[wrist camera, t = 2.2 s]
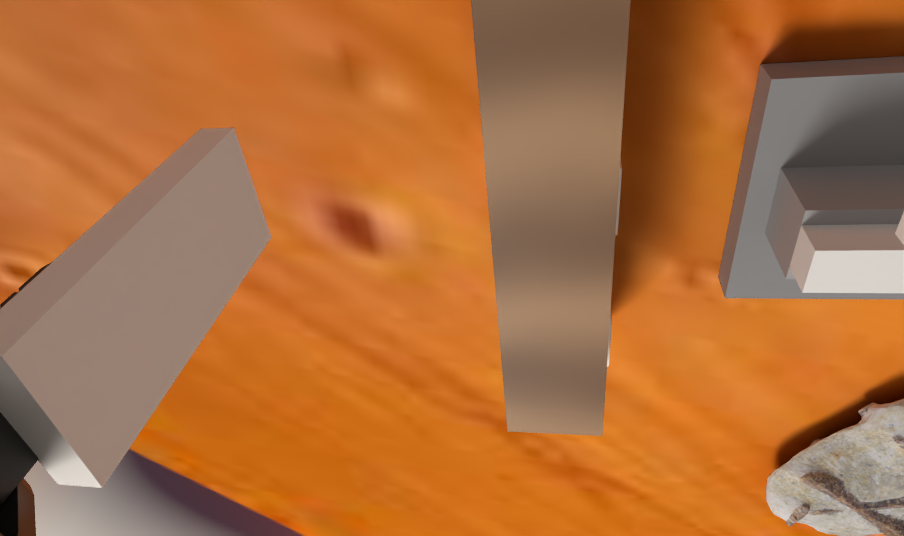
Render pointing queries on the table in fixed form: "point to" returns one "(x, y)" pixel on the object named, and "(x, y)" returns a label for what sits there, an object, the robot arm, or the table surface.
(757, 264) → the fulcrum
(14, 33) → the table surface
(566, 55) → the bar
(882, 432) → the stone
